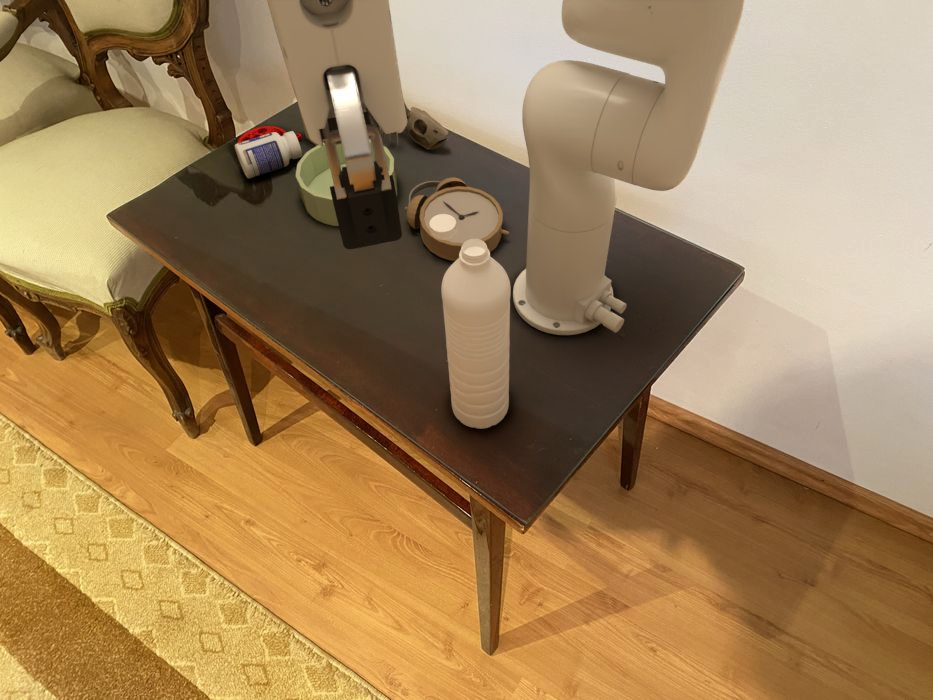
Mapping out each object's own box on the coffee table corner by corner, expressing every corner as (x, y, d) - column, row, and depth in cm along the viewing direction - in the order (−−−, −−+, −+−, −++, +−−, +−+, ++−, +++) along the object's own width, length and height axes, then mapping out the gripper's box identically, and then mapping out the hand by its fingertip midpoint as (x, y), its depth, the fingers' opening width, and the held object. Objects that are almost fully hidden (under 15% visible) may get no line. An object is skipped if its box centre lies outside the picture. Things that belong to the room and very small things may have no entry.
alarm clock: (459, 260, 94) (386, 190, 99) (456, 283, 99) (386, 214, 104) (521, 219, 99) (448, 154, 104) (516, 242, 103) (446, 179, 108)
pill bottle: (250, 186, 110) (306, 168, 113) (242, 162, 106) (301, 144, 108) (238, 161, 113) (294, 143, 115) (231, 136, 108) (288, 119, 110)
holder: (417, 191, 108) (414, 163, 104) (346, 240, 102) (340, 213, 98) (354, 153, 114) (349, 125, 110) (284, 198, 108) (276, 170, 104)
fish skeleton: (438, 163, 111) (437, 103, 104) (294, 111, 121) (284, 52, 113) (457, 146, 114) (458, 86, 107) (316, 96, 124) (307, 38, 117)
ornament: (236, 131, 117) (298, 120, 119) (237, 134, 118) (299, 123, 119) (238, 161, 113) (303, 149, 114) (239, 164, 113) (304, 153, 114)
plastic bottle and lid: (520, 406, 84) (526, 246, 64) (478, 440, 81) (471, 284, 61) (469, 362, 88) (460, 199, 68) (427, 393, 85) (406, 233, 66)
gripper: (428, -75, 25) (455, 276, 38) (355, -227, 35) (397, 92, 49) (202, -42, 24) (312, 305, 37) (196, -207, 34) (283, 111, 48)
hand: (360, 184), depth 43 cm, fingers open, 9 cm apart
